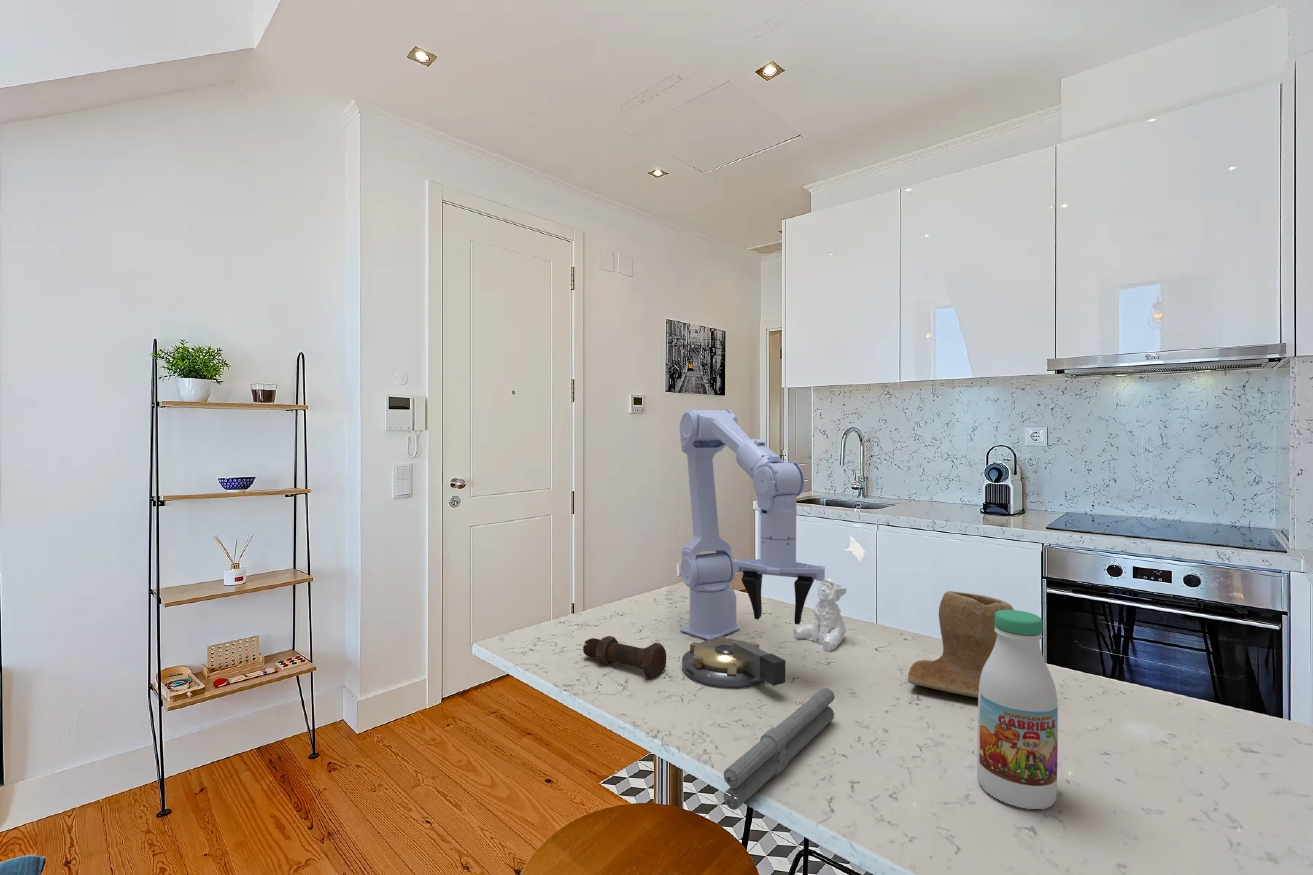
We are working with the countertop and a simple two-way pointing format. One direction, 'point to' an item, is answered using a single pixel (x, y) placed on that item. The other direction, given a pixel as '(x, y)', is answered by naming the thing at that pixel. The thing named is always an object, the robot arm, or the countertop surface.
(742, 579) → the robot arm
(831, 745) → the countertop surface
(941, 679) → the brown boot
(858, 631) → the countertop surface
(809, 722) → the metal rod assembly
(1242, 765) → the countertop surface
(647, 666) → the bolt
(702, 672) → the disc
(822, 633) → the seated beast figurine
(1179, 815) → the countertop surface
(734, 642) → the brass turntable dial
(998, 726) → the milk bottle
